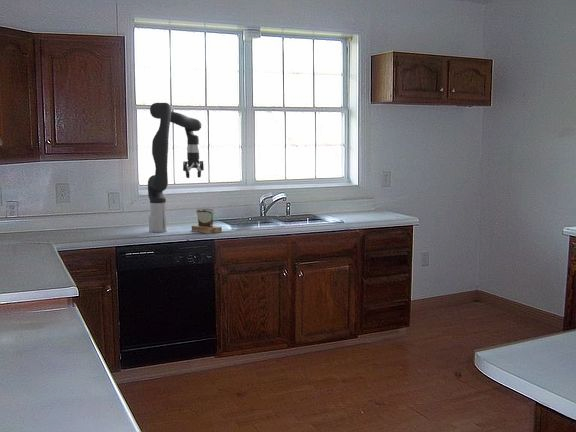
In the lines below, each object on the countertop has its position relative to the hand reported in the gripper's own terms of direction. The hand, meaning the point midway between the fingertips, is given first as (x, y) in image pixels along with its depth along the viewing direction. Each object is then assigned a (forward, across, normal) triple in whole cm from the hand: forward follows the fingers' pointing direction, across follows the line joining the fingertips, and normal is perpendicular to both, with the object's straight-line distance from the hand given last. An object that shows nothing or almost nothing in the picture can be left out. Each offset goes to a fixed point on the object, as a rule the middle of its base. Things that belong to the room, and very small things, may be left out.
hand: (193, 177), depth 397 cm
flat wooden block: (+30, -11, -27) cm, 42 cm away
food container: (+27, -10, -27) cm, 40 cm away
